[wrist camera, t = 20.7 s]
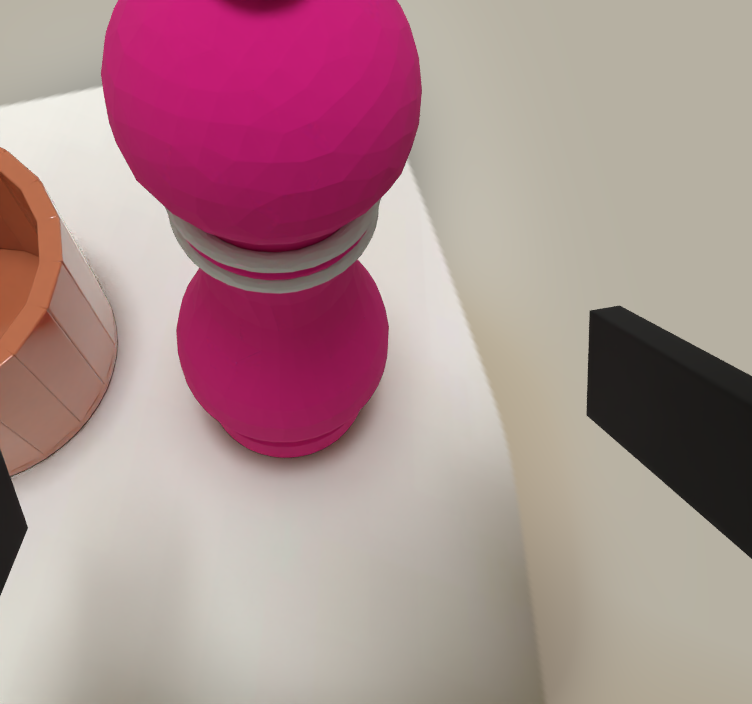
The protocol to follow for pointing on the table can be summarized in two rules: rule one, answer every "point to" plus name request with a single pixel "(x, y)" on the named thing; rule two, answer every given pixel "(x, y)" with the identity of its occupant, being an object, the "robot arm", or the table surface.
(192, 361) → the pepper mill
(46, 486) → the table surface
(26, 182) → the crock
